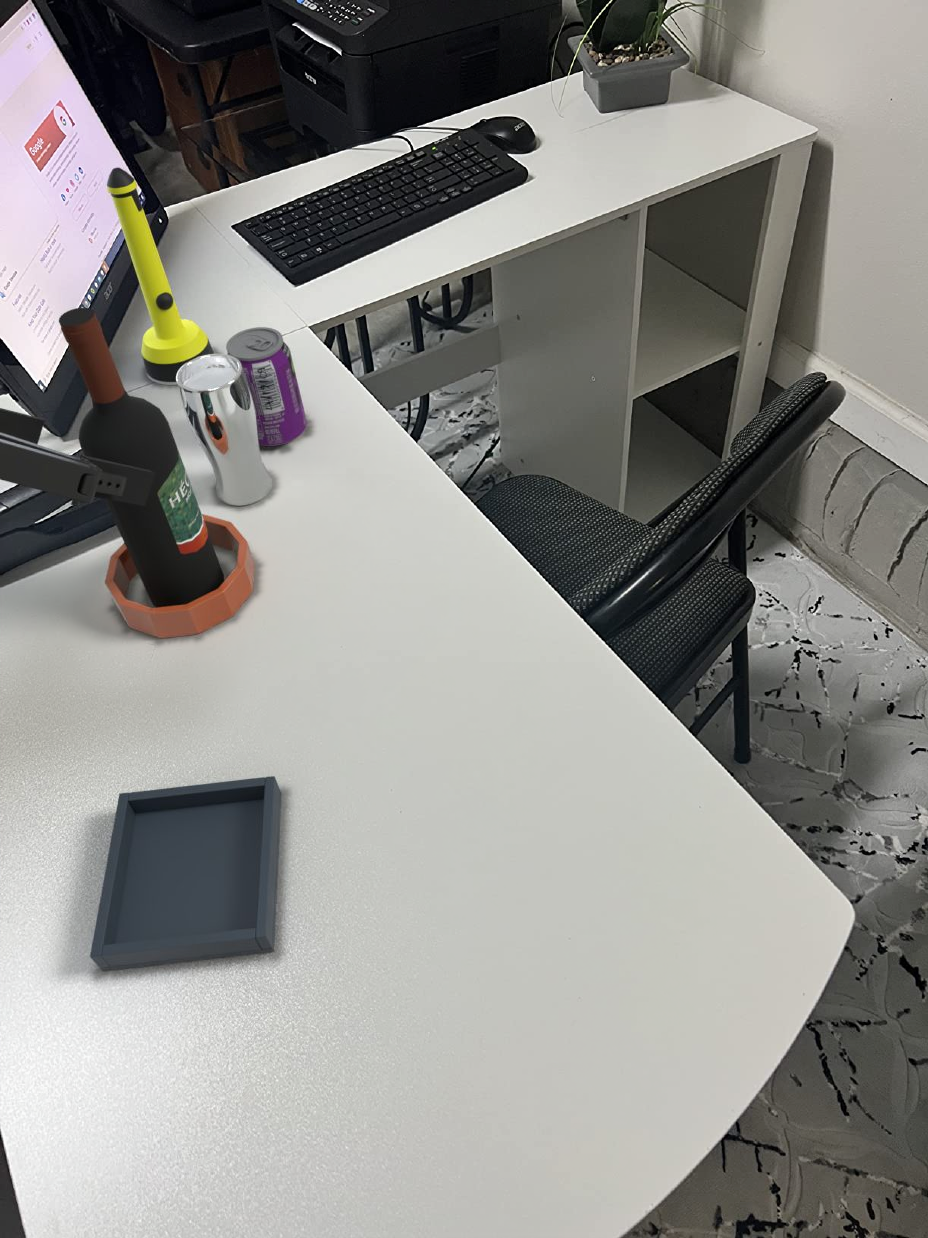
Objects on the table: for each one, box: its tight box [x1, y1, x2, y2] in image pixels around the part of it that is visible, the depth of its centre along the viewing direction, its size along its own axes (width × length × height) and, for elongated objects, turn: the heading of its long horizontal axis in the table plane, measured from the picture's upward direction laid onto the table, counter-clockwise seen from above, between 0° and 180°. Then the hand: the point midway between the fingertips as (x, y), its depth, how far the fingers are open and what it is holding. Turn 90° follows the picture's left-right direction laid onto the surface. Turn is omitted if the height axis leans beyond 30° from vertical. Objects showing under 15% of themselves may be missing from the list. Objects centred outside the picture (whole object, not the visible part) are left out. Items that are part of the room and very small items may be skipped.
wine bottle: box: [58, 307, 225, 608], centre depth 86 cm, size 8×8×30 cm
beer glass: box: [176, 353, 273, 507], centre depth 101 cm, size 7×7×15 cm
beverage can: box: [225, 326, 308, 447], centre depth 109 cm, size 7×7×12 cm
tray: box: [89, 775, 282, 972], centre depth 74 cm, size 13×14×3 cm
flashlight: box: [106, 167, 215, 386], centre depth 115 cm, size 25×9×9 cm
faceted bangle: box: [104, 513, 256, 639], centre depth 96 cm, size 14×14×4 cm
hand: (90, 460), depth 78 cm, fingers open, 13 cm apart
